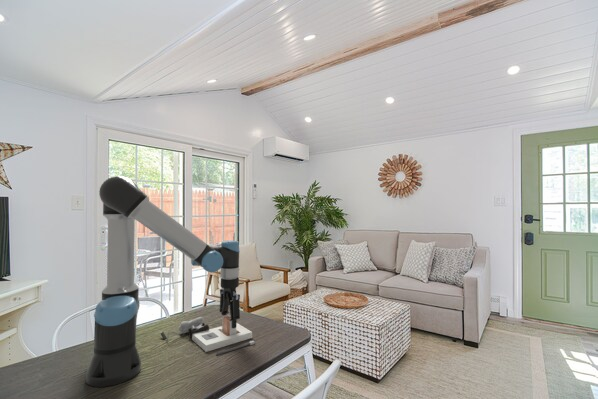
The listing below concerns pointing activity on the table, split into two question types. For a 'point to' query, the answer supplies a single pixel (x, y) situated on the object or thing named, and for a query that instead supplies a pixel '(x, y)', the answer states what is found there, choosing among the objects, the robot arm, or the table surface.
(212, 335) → the outlet plate
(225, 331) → the block
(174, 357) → the table surface
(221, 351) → the cable
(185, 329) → the clip-on lamp
